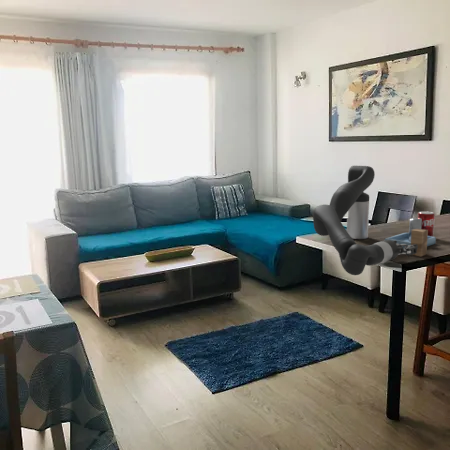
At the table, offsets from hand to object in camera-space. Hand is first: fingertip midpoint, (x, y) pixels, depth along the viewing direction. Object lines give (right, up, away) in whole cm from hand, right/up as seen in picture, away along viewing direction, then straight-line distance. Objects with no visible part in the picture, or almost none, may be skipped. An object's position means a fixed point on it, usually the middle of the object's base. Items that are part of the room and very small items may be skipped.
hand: (406, 244), depth 193 cm
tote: (+11, -1, +26) cm, 28 cm away
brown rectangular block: (+8, -4, +9) cm, 13 cm away
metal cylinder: (+14, +1, +28) cm, 32 cm away
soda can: (+22, +1, +38) cm, 44 cm away
